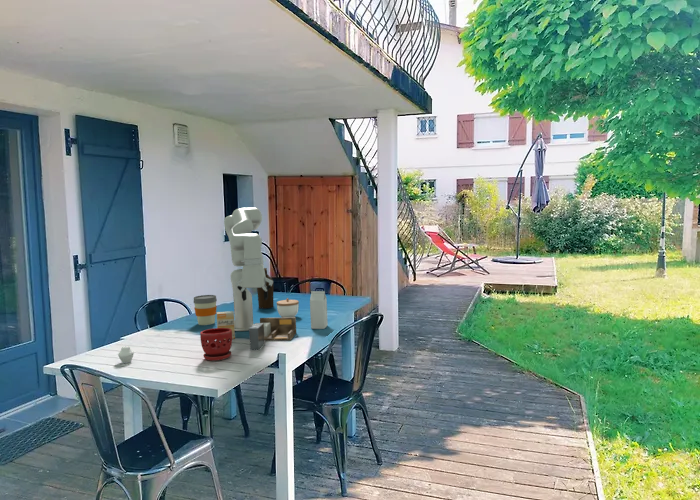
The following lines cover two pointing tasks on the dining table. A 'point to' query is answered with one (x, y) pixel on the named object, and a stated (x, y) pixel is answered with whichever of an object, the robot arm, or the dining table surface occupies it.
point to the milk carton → (318, 310)
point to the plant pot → (216, 343)
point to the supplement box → (226, 321)
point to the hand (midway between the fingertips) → (255, 300)
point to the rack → (279, 328)
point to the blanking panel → (256, 336)
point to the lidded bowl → (287, 307)
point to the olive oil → (260, 291)
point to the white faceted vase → (126, 354)
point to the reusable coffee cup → (205, 309)
